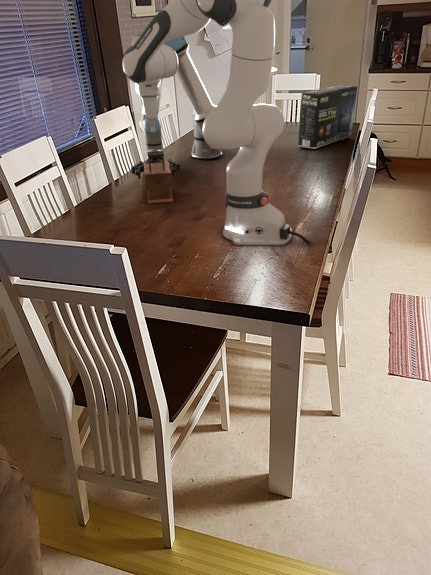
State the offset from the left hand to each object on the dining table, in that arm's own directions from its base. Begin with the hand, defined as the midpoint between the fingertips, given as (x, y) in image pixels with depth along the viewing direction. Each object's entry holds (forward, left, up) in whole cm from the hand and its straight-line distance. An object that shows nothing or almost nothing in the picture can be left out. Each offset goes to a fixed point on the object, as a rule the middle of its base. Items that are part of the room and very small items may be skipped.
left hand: (156, 174), depth 184 cm
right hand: (+9, +5, +20) cm, 22 cm away
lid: (+6, +3, +3) cm, 7 cm away
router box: (-90, +58, -7) cm, 107 cm away
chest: (+5, +3, -7) cm, 9 cm away
